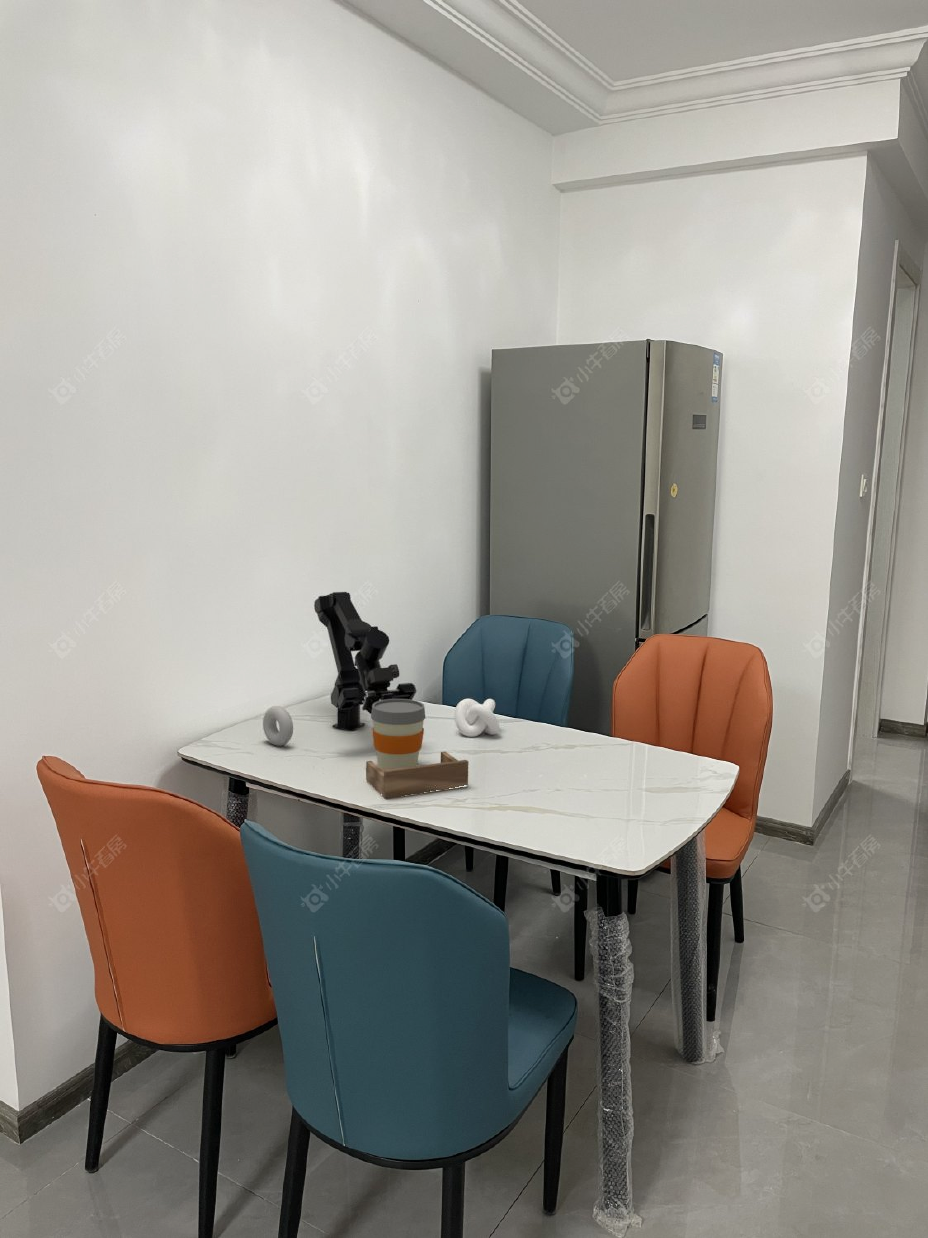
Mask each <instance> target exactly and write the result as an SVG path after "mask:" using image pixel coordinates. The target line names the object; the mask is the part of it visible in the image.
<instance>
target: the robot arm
mask: <svg viewBox="0 0 928 1238" xmlns="http://www.w3.org/2000/svg"><path fill="white" fill-rule="evenodd" d="M351 598H352V597H351V594H350V593H349V592H347V591H333V592H332V593H329V594H326V595H319V596H318V598H317V599H315V600H314V603H313V604H314V605H313V606H314V608H313V609H314V612H315V613H316V615H317V618H318V621H319V622H320V623H322V625H323V626H324V627H326V628H327V632H328V638H329V641H330V645H331V649H332V653H333V658H334V663H335V666H336V670H337V676H336V679H335V681H334V687H333V689H332V692H331V694H330V703H331V705H332V706H334V708H337V713H336V714H337V715H336V716H337V717H336V721H337V723H335V724H333V725H332V728H334V729H339V730H345V731H356V730H358V729H360V728H361V727H364V726H365V725H366V723H365V722H361V709H362V711H366V712H368V713H369V714H370V715H371V712H372V705H373V704H374V703H375V702H377V701H381V700H387V699H409V700H414V697H415V695H416V693H417V688H416V685H415V684H414V683H412V682H407V683H406V682H404V683H398V685H397V687H396V688H395V689H388V688H390V687H391V682H393V681H394V679H397V678H399V677H400V669H399V666H398V664H397V663H395V664H390V665H388V667H382V666H381V663H380V660H381V659H382V658H383V657H384V655H385V652H386V650H387V648H388V647H389V646H388V645H389V644H390V638H389V636H388V635H387V633H386V632H385V631H383V630H381V629H379V627H378V626H375V625H374V626H372V625H371V624H370V623H368V622H366V621H363V620H362V618H361V616H360V615H359V612H358V611H357V609H356V607H355V606H354V604H353V601H352V600H351ZM352 652H357V653H356V654H355V656H354V657H353V653H352ZM361 706H362V708H361Z"/></svg>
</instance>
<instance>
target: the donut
mask: <svg viewBox="0 0 928 1238" xmlns="http://www.w3.org/2000/svg"><path fill="white" fill-rule="evenodd" d="M277 724H278V725H277ZM278 727H279V729H278ZM262 730H263V732H264V733H263V734H264V735H265V737H266V739H267V740H268V742H269V743H271V744H273V745H274V746H276V747H277V746H281V747H282V746H284V745H287V744H288V743H289V742H290V741H291V739H292V736H293V734H294V723H293V719H292V716H291V715H290V713H289V712H288V711H287V709H286V708H284V707H282V706H281V705H280V706H279V705H273V706H271V707H269V708H268V709H266V711H265V713H264V715H263V718H262Z"/></svg>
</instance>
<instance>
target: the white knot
mask: <svg viewBox="0 0 928 1238" xmlns="http://www.w3.org/2000/svg"><path fill="white" fill-rule="evenodd" d="M495 707H496V702H495V700H494V699H492V698H488V699H486V700H484V701H483V703H479V702H478V701H476V700H474V699H472V698H464V699H462V700H461V701H459V702H458V703H457V705H456V707H455V710H454V722H455V726H456V728H457V729H458V731H459V733H460V734H462V735H463V736H465V737H468V738H473V737H477V736H479V735H481V733H483V732H484V733H486V734H488V735H491V736H495V735H497V734H498V733H499V730H500V723H499V720H498V718H497V716H496V715H495V713H494V710H495Z"/></svg>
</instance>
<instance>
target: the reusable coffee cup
mask: <svg viewBox="0 0 928 1238" xmlns="http://www.w3.org/2000/svg"><path fill="white" fill-rule="evenodd" d="M425 708H426V707H425V704H424V703H422V702H421V701H417V700H414V699H412V700H409V699H387V700H381V701H380V700H379V701H377V702H375V703H374V704H373V705H372V712H371V714H370V718H371V720H372V725H373V727H372V728H371V732H372V741H373V748H374V749H375V751H376V759H377V766H378V767H379V768H380V769H381V770H382V771H384V770H390V769H398V768H406V767H413V766H418V762H419V755H420V750H421V749H422V746H423V739H424V732H425V729H424V727H423V726H424V721H425V719H426V709H425Z"/></svg>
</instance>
